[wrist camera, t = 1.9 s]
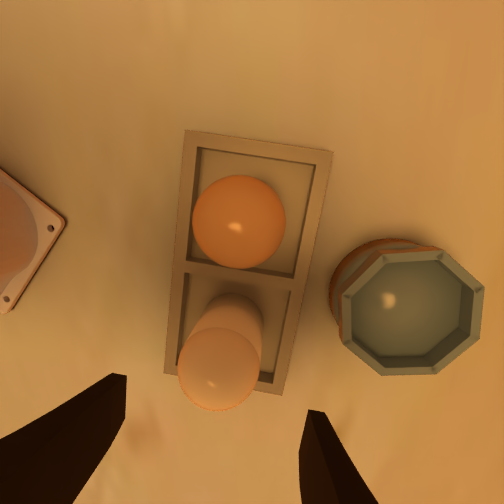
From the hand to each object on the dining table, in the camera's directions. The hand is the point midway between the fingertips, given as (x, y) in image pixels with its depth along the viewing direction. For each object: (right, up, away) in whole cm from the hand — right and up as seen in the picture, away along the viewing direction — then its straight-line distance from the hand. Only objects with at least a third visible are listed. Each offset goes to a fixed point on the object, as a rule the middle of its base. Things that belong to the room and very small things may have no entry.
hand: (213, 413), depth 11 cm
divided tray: (+1, +5, +8) cm, 10 cm away
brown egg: (+1, +9, +7) cm, 11 cm away
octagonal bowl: (+11, +3, +8) cm, 14 cm away
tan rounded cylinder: (0, +1, +9) cm, 9 cm away
